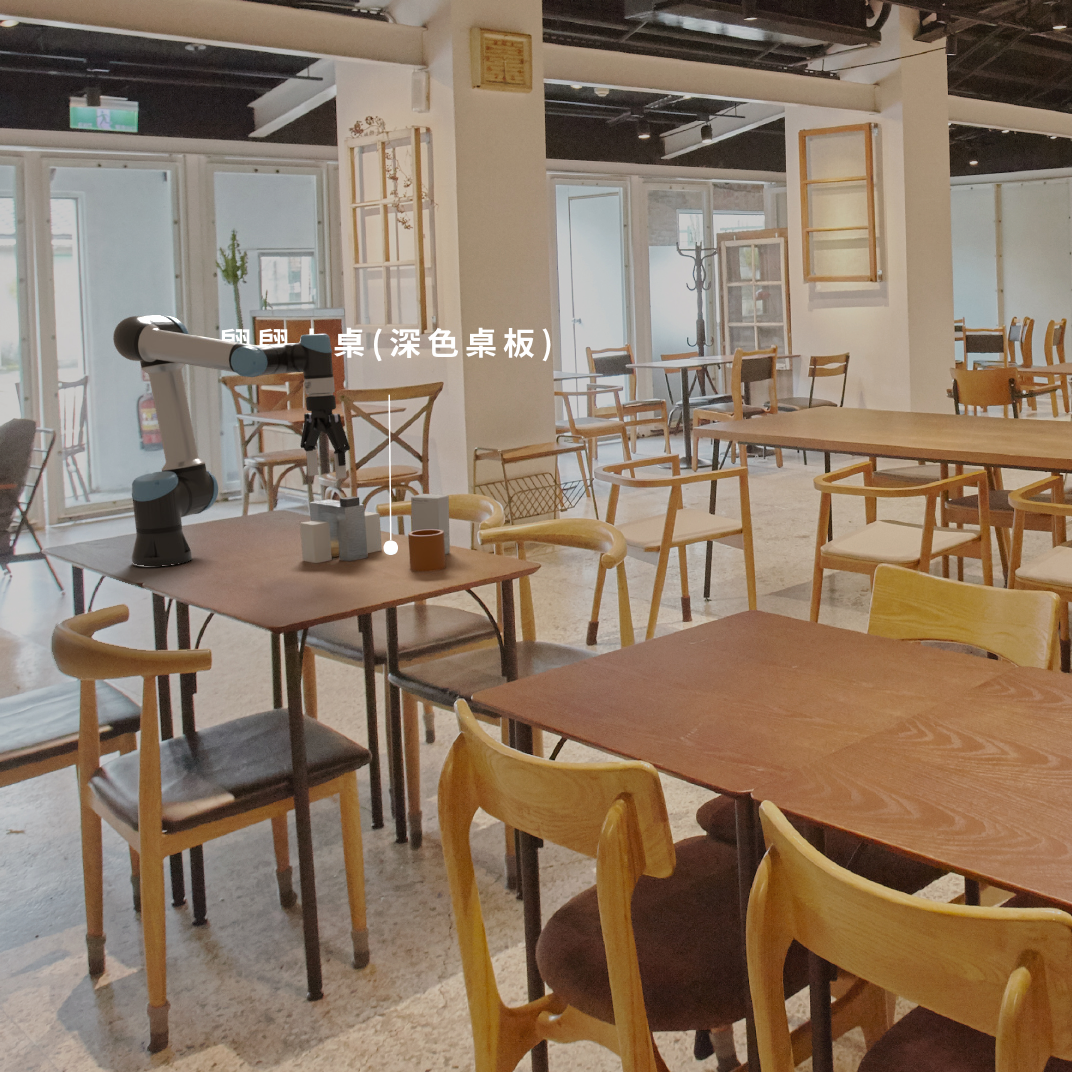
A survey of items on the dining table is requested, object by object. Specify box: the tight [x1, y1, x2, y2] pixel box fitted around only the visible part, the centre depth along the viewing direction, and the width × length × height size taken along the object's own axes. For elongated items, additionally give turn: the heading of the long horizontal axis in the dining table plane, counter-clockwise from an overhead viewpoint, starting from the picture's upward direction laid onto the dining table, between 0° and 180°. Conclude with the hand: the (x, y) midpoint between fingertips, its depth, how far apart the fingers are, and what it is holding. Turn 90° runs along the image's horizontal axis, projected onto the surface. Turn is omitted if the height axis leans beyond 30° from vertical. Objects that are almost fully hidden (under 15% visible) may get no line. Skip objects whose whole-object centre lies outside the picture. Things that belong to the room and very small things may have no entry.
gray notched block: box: [309, 496, 369, 562], centre depth 320 cm, size 16×6×16 cm, turn 43°
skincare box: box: [410, 493, 451, 556], centre depth 317 cm, size 8×7×16 cm
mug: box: [407, 529, 447, 572], centre depth 302 cm, size 9×12×9 cm
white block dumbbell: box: [299, 511, 383, 564], centre depth 321 cm, size 6×21×10 cm, turn 133°
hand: (327, 477), depth 315 cm, fingers open, 13 cm apart
